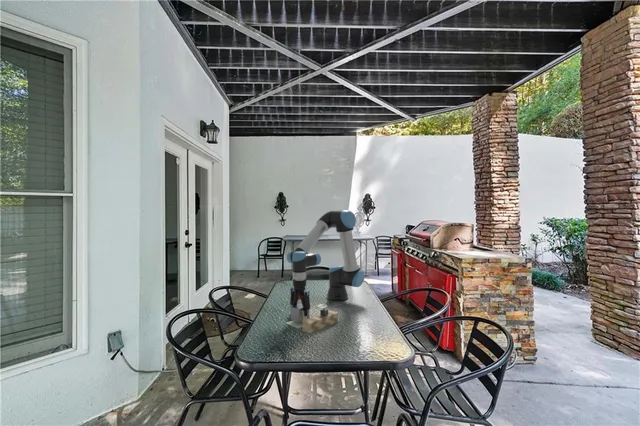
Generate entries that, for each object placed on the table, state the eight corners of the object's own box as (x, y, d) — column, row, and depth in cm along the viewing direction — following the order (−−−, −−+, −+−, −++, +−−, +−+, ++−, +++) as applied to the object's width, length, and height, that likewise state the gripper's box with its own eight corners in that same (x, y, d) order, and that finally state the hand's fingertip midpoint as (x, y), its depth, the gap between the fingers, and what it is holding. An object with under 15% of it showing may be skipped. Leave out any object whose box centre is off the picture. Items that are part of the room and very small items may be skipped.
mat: (301, 317, 173) (301, 317, 173) (314, 322, 165) (314, 321, 165) (285, 323, 164) (285, 322, 164) (298, 328, 157) (298, 328, 157)
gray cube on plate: (301, 315, 170) (301, 303, 170) (309, 318, 165) (309, 305, 165) (290, 318, 164) (290, 306, 164) (298, 322, 159) (298, 309, 159)
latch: (324, 313, 164) (323, 306, 164) (328, 315, 162) (328, 308, 162) (320, 315, 162) (320, 308, 162) (324, 316, 160) (324, 309, 160)
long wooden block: (330, 319, 170) (330, 310, 170) (337, 321, 166) (337, 312, 166) (302, 330, 154) (302, 321, 154) (309, 333, 150) (309, 323, 151)
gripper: (283, 277, 169) (283, 317, 169) (306, 283, 155) (307, 326, 155) (293, 275, 174) (293, 314, 174) (316, 280, 161) (317, 322, 161)
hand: (300, 319), depth 165 cm, fingers closed on gray cube on plate, 7 cm apart
